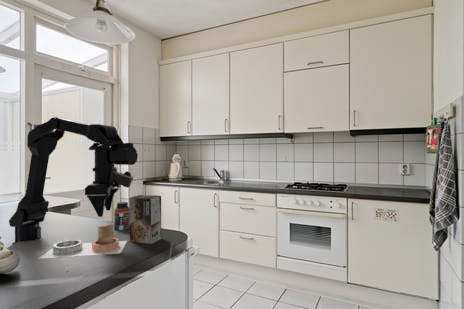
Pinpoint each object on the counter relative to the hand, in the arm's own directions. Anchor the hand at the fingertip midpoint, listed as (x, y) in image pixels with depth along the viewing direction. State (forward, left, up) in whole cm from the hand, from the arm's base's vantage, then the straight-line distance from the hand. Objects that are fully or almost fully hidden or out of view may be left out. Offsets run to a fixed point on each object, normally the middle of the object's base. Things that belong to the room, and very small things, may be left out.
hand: (104, 213), depth 87 cm
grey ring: (-11, 0, -11) cm, 15 cm away
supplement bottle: (+1, +23, -12) cm, 26 cm away
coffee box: (+12, +6, -12) cm, 18 cm away
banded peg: (0, 0, -11) cm, 11 cm away
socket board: (-5, 0, -12) cm, 13 cm away
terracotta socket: (0, 0, -11) cm, 11 cm away
